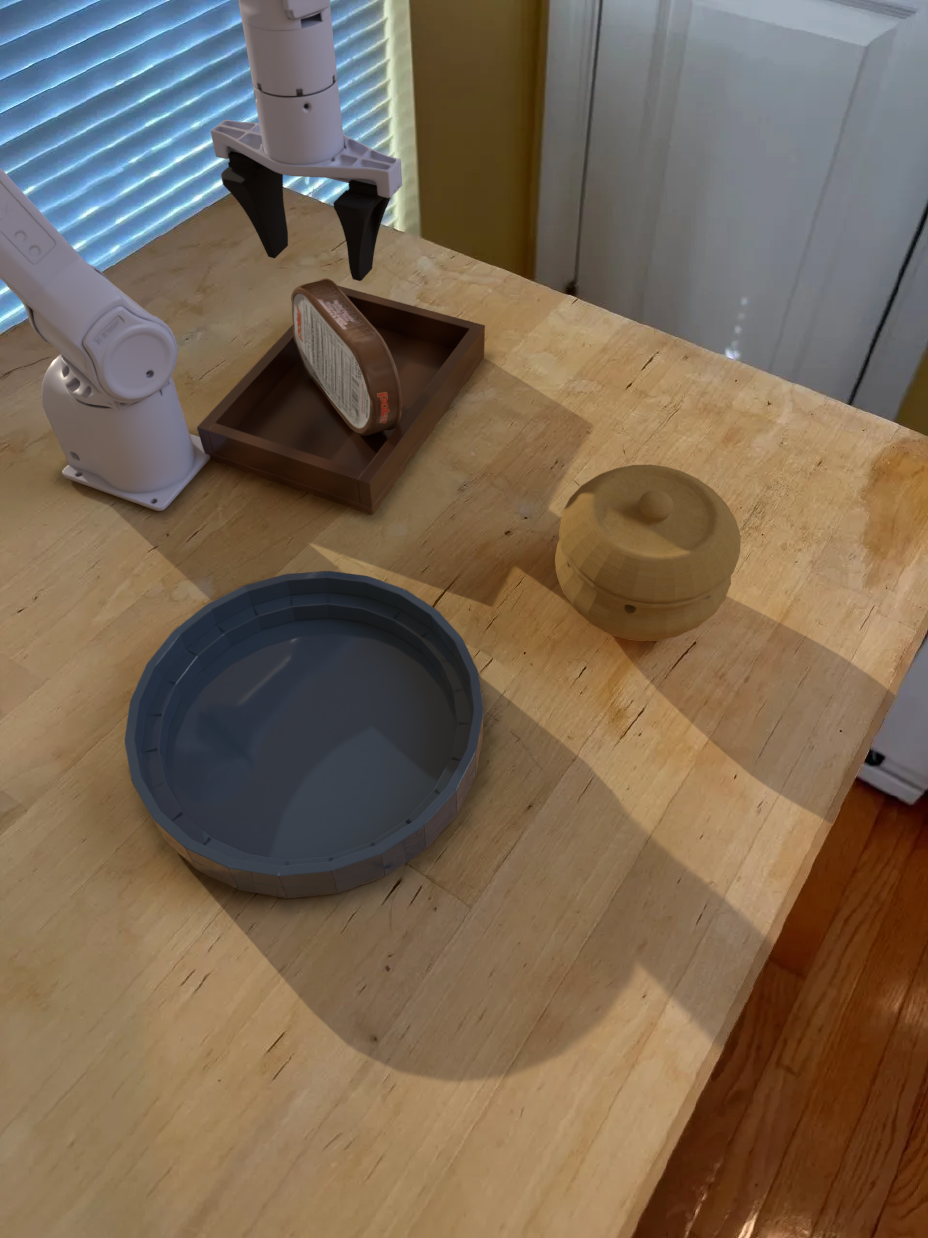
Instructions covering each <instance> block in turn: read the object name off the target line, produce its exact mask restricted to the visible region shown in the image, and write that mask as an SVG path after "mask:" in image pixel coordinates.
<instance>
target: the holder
mask: <svg viewBox="0 0 928 1238" xmlns="http://www.w3.org/2000/svg"><path fill="white" fill-rule="evenodd" d="M336 285H337V286H338V287H339V288H340V289H341V290H342V292H343V293H344V294H345V295H346V296H347V297H348V298H349V300H350V301H351V302H352V303H353V304H354V305H355V307H356V308H357V309H358V310H359V311H360V312H361V313H362V314H363V315H364V317H365V318H366V319H367V320H368V321H369V322H370V323H371V325H372V326H373V327H374V328H375V329H376V330H377V331H378V332H379V334H380V335H381V336H382V338H383V339H384V341H385V343H386V345H387V347H388V349H389V351H390V353H391V355H392V358H393V360H394V363H395V366H396V369H397V373H398V376H399V381H400V387H401V393H402V413H401V418H400V421H399V423H398V425H397V426H396V428H394V429H393V430H385V431H382V432H378V433H375V434H371V435H367V436H362V435H359V434H357V433H355V432H354V431H353V430H352V429H351V428H350V427H349V426H348V425H347V423H346V422H345V421H344V420H343V418H342V417H341V416H340V415H339V413H338V412H337V411H336V409H335V408H334V407H333V406H332V404H331V403H330V402H329V400H328V399H327V398H326V397H325V395H324V394H323V393H322V391H321V390H320V389H319V387H318V386H317V385H316V384H315V382H314V381H313V380H312V378H311V377H310V376H309V374H308V372H307V371H306V369H305V367H304V365H303V363H302V361H301V358H300V356H299V353H298V350H297V347H296V344H295V340H294V336H293V324H292V325H291V326H290V327H289V328H288V329H287V330H286V331H285V332H284V333H283V334H282V335H281V336H280V338H279V339H277V341H276V342H275V343H274V344H272V346H271V347H270V348H269V349H268V350H267V352H266V353H265V354H263V356H262V357H260V359H259V360H258V361H257V362H256V363H255V364H254V365H253V366H252V367H251V368H250V369H249V371H248V372H247V373H246V374H245V375H244V376H243V377H242V378H241V379H240V380H239V381H238V382H237V384H236V385H234V387H233V388H231V390H230V391H229V392H228V393H227V394H226V395H225V396H224V397H223V399H221V400H220V401H219V403H218V404H216V406H215V407H214V408H213V409H212V410H211V411H210V412H209V413H208V415H206V417H204V418H203V420H201V422H200V423H199V424H198V425H197V426H196V430H197V432H198V437H200V440H201V443H202V446H203V450H204V453H205V454H208V455H210V460H209V461H212V462H215V463H218V464H221V465H224V466H227V467H229V468H233V469H235V470H239V471H242V472H245V473H248V474H251V475H254V476H257V477H259V478H262V479H266V480H269V481H272V482H275V483H277V484H280V485H283V486H286V487H289V488H292V489H296V490H298V491H301V492H304V493H306V494H310V495H313V496H316V497H318V498H322V499H324V500H327V501H330V502H333V503H337V504H340V505H343V506H345V507H349V508H351V509H353V510H354V509H355V510H358V511H359V512H362V513H363V512H364V513H366V514H369V515H374V514H375V512H376V511H377V510H378V508H379V507H380V506H381V504H382V502H383V501H384V500H385V498H386V497H387V495H388V494H389V493H390V491H391V490H392V488H393V487H394V486H395V484H396V483H397V481H398V480H399V479H400V478H401V476H402V474H403V473H404V472H405V470H406V469H407V467H408V466H409V465H410V463H411V461H412V460H413V459H414V457H415V456H416V455H417V453H418V451H419V450H420V449H421V447H423V445H424V443H425V442H426V440H427V439H428V438H429V436H430V435H431V433H432V432H433V430H434V429H435V427H436V426H437V425H438V423H439V422H440V420H441V419H442V418H443V417H444V415H445V413H446V412H447V411H448V409H449V408H450V407H451V405H452V404H453V402H454V401H455V399H456V398H457V396H458V395H459V394H460V393H461V391H462V389H463V388H464V386H466V384H467V382H468V381H469V380H470V378H471V376H472V375H473V374H474V372H475V371H476V369H477V368H478V367H479V365H480V364H481V363H482V361H483V360H484V358H485V345H486V344H485V340H486V339H485V335H486V325H485V324H481V323H478V322H474V321H471V320H466V319H463V318H460V317H455V316H452V315H449V314H444V313H441V312H437V311H434V310H430V309H426V308H422V307H418V306H415V305H412V304H407V303H404V302H401V301H396V300H392V299H390V298H389V299H388V298H385V297H382V296H378V295H374V294H371V293H367V292H363V291H360V290H357V289H352V288H348V287H345V286H341V285H339V284H336Z"/></svg>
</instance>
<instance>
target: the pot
mask: <svg viewBox="0 0 928 1238" xmlns="http://www.w3.org/2000/svg"><path fill="white" fill-rule="evenodd" d="M741 536H742V535H741V532H740V529H739V525H738V521H737V519H736V518H735V515H734V514H733V512H732V511H731V509H730V507H729V506H728V504H727V503H726V502H725V500H724V499H723V498H722V497H721V496H720V495H719V493H718V492H716V491H715V489H713V488H712V487H710V486H709V485H707V484H706V483H705V482H703V481H702V480H701V479H699V478H698V477H695V476H693V475H691V474H689V473H687V472H685V471H681V470H678V469H676V468H672V467H669V466H664V465H656V464H655V465H654V464H631V465H626V466H621V467H616V468H612V469H610V470H608V471H605V472H602V473H600V474H598V475H596V476H594V477H593V478H592V479H590V480H588V481H587V482H585V483H583V484H582V485H580V486H579V488H578V489H577V490H576V491H575V492H574V493H573V494H572V495H571V496H570V497H569V499H568V501H567V503H566V505H565V507H564V509H563V511H562V515H561V519H560V525H559V529H558V537H559V540H558V541H557V544H556V551H555V556H554V565H555V574H556V578H557V580H558V583H559V585H560V587H561V590H562V592H563V594H564V596H565V597H566V598H567V600H568V602H570V604H571V605H572V606H573V608H574V609H575V611H576V612H577V613H578V614H579V615H580V616H581V617H583V618H584V620H586V621H588V622H589V624H591V625H592V626H594V627H595V628H598V629H599V630H601V631H603V632H604V633H606V634H608V635H611V636H614V637H617V638H621V639H623V640H629V641H636V642H657V641H658V642H659V641H664V640H668V639H669V640H670V639H673V638H676V637H679V636H681V635H683V634H686V633H688V632H690V631H692V630H694V629H697V628H698V627H700V626H702V624H703V623H705V622H707V620H709V619H710V618H711V617H713V615H715V614H716V612H718V609H719V608H720V607H721V605H722V604H723V603H724V601H725V600H726V598H727V596H728V592H729V589H730V587H731V584H732V575H733V574H734V572H735V570H736V567H737V564H738V561H739V559H740V554H741V545H742V544H741V542H742V541H741V540H742V539H741V538H742V537H741Z"/></svg>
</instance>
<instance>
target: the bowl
mask: <svg viewBox="0 0 928 1238" xmlns="http://www.w3.org/2000/svg"><path fill="white" fill-rule="evenodd" d="M125 727H126V728H125V735H124V747H125V753H126V759H127V764H128V770H129V775H130V781H131V784H132V785H133V787H134V788H135V790H136V792H137V794H138V796H139V798H140V800H141V801H142V804H143V805H144V807H145V808H146V810H147V812H148V814H149V816H150V818H151V819H152V822H154V825H155V826H156V827H157V829H158V831H159V833H160V834H161V836H162V837H163V839H164V841H165V842H166V843H167V844H168V845H169V846H170V847H171V848H172V849H173V850H174V851H175V852H177V853H178V855H180V856H181V857H182V858H183V859H184V860H186V861H187V863H189V865H191V867H193V868H194V869H195V870H196V871H197V872H200V873H202V874H203V875H206V876H208V877H210V878H212V879H214V880H216V881H218V882H221V883H222V884H224V885H227V886H229V887H231V888H234V889H236V890H238V891H240V892H241V891H242V892H248V893H253V894H260V895H266V896H271V897H272V896H273V897H278V898H284V899H291V898H292V899H293V898H294V899H295V898H304V897H315V896H325V895H335V894H339V893H343V892H347V891H349V890H351V889H354V888H357V887H359V886H362V885H365V884H368V883H371V882H374V881H377V880H380V879H383V878H385V877H387V876H388V875H390V874H392V873H393V872H395V871H396V870H398V869H399V868H401V867H402V866H403V865H405V864H407V863H408V862H410V861H411V860H413V859H415V857H418V856H419V855H420V854H422V853H423V852H424V851H426V850H427V849H428V848H429V847H430V846H431V845H432V844H433V843H434V841H436V839H437V838H438V837H439V836H440V835H441V833H443V832H444V830H445V829H446V828H447V827H448V826H449V825H450V823H451V822H453V820H454V819H455V818H456V817H457V815H458V814H459V812H460V810H461V808H462V805H463V804H464V801H465V799H466V797H467V795H468V793H469V791H470V789H471V788H472V786H473V783H474V782H475V779H476V777H477V772H478V768H479V767H478V766H479V762H480V756H481V750H482V744H483V739H484V704H483V696H482V689H481V679H480V674H479V671H478V669H477V666H476V664H475V662H474V660H473V658H472V655H471V652H470V651H469V649H468V646H467V645H466V642H465V639H464V638H463V637H462V636H461V635H460V634H459V632H458V631H457V630H456V629H455V628H454V627H453V625H451V624H450V622H449V621H448V620H447V619H446V618H445V617H444V615H442V613H441V612H440V611H439V610H438V609H436V608H435V607H434V606H432V605H431V604H429V603H428V602H426V601H425V600H422V599H421V598H420V597H418V596H416V595H415V594H414V593H412V592H411V591H409V590H408V589H405V588H403V587H400V586H397V585H394V584H392V583H388V582H387V581H386V582H385V581H383V580H381V579H378V578H375V577H372V576H368V575H363V574H355V573H348V572H339V571H332V570H320V571H308V572H307V571H305V572H294V573H293V572H292V573H286V574H280V575H278V576H273V577H270V578H266V579H262V580H259V581H255V582H252V583H251V582H250V583H249V584H245V585H242V586H241V587H237V588H236V589H234V590H232V591H230V592H228V593H225V594H224V595H222V596H221V597H217V599H214V600H212V601H210V602H208V603H207V604H206V605H204V606H202V607H201V608H200V609H199V610H198V611H197V612H195V613H194V614H192V615H191V616H190V617H189V618H188V619H186V620H185V621H183V623H181V624H180V625H179V626H177V627H176V628H175V629H174V630H172V632H171V633H170V634H169V635H168V636H167V638H166V639H165V640H164V642H162V644H161V645H160V646H159V648H158V649H157V650H156V652H155V653H154V654H153V655H152V657H151V658H150V659H149V661H147V663H146V665H145V667H144V669H143V671H142V674H141V676H140V678H139V680H138V682H137V684H136V687H135V688H134V691H133V694H132V695H131V698H130V700H129V707H128V714H127V721H126V726H125Z"/></svg>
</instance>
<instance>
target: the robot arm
mask: <svg viewBox="0 0 928 1238" xmlns="http://www.w3.org/2000/svg"><path fill="white" fill-rule="evenodd" d="M238 7H239V14H240V17H241V23H242V30H243V36H244V42H245V48H246V54H247V59H248V65H249V71H250V76H251V83H252V90H253V96H254V101H255V107H256V113H257V119H258V122H249V121H248V122H247V121H237V120H232V119H231V120H230V119H224V120H223V121H221V122H220V123H218V124H216V126H214V127H213V128H212V129H210V137H211V140H212V145H213V149H214V154H215V157H216V158H219V159H223V160H229V162H227V165H228V167H226V168H225V169H224V170H222V172H221V174H220V177H221V182H222V185H223V186H224V188H226V190H227V191H228V192H229V193H230V194H231V195H232V196H233V197H234V199H235V200H236V201H237V202H238V203H239V205H240V206H241V208H242V209H243V211H244V212H245V214H246V215H247V217H248V218H249V220H250V222H251V224H252V226H253V228H254V230H255V232H256V233H257V236H258V237H259V240H260V242H261V245H262V246H263V248H264V251H265V253H266V255H267V257H268V258H271V259H276V258H277V257H278V256H279V255H280V254H281V253H283V251H284V250H285V249H286V248H287V247H288V246H289V232H288V231H289V230H288V223H287V218H286V217H287V216H286V210H285V203H284V176H287V177H302V178H323V179H324V178H325V179H329V180H333V181H337V182H341V183H346V184H348V189H345V190H344V192H343V193H341V195H339V196H338V197H337V198H336V200H334V202H333V203H332V204H333V209H334V212H335V213H336V215H337V217H338V219H339V222H340V225H341V228H342V231H343V234H344V235H343V236H344V239H345V242H346V249H347V258H348V267H349V271H350V272H349V273H350V276H351V278H352V280H353V281H358V282H361V281H363V279H365V278H366V277H367V275H369V273H370V272H371V271H372V270H373V263H374V255H375V249H376V244H377V240H378V235H379V232H380V231H379V230H380V228H381V223H382V221H383V217H384V216H385V213H386V210H387V208H388V205H389V203H390V201H391V198H392V197H393V196H394V195H395V194H396V193H397V192H398V191H399V190H400V189H401V188H402V186H403V174H402V159H401V158H398V157H395V156H394V157H393V156H390V155H388V154H384V153H382V152H380V151H378V150H376V149H374V148H372V147H370V146H368V145H366V144H364V143H362V142H360V141H358V140H357V139H354V138H352V137H350V136H348V135H346V134H344V129H343V121H342V120H343V119H342V109H341V101H340V92H339V91H340V89H339V82H338V81H339V79H338V71H337V59H336V51H335V50H336V49H335V42H334V30H333V22H332V11H331V0H238ZM0 280H1V281H2V282H3V283H4V284H5V285H6V287H7V288H8V289H9V291H11V292H12V293H14V295H16V297H17V298H18V299H19V300H20V301H21V304H22V305H23V307H24V309H25V312H26V316H27V318H28V321H29V324H30V326H31V328H32V330H33V331H34V333H36V335H37V336H38V337H39V338H41V339H42V340H43V341H44V342H45V343H48V344H49V345H51V346H52V347H53V348H54V349H55V350H56V351H57V352H59V355H58V356H56V357H55V358H54V359H53V361H52V362H51V363H50V365H49V366H48V368H47V370H46V371H45V374H44V376H43V379H42V383H41V403H42V407H43V411H44V413H45V415H46V418H47V420H48V421H49V424H50V426H51V429H52V430H53V433H54V435H55V437H56V439H57V442H58V444H59V446H60V448H61V450H62V453H63V454H64V457H65V459H66V461H67V463H68V464H67V465H66V466H65V467H64V468H63V469H62V472H61V473H62V475H63V477H64V478H65V479H68V480H71V481H73V482H76V483H79V484H81V485H85V486H87V487H89V488H93V489H94V490H95V489H96V490H98V491H101V492H104V493H106V494H109V495H112V496H115V497H117V498H120V499H122V500H126V501H128V502H132V503H135V504H137V505H139V506H143V507H145V508H148V509H151V510H154V511H156V512H162V511H165V509H167V508H168V507H169V506H170V504H172V502H173V501H174V500H175V499H176V498H177V496H179V494H180V493H181V492H182V491H183V490H184V489H185V488H186V487H187V485H188V484H189V483H190V482H191V481H192V480H193V479H194V478H195V476H197V474H198V473H199V472H200V471H201V470H202V469H203V468H204V466H205V465H206V464H207V463H208V462H209V461H211V460H210V455H208V454H205V453H204V450H203V446H202V443H201V440H200V436H199V435H195V434H192V433H190V430H189V427H188V423H187V421H186V417H185V415H184V411H183V407H182V404H181V401H180V398H179V395H178V391H177V388H176V385H175V381H174V378H173V373H174V371H175V368H176V366H177V361H178V354H179V353H178V351H179V350H178V349H179V348H178V342H177V340H176V339H177V338H176V335H175V334H174V332H173V331H172V329H171V328H170V326H169V325H168V324H167V323H166V322H164V321H163V320H162V319H161V318H159V316H156V315H153V314H151V313H150V312H149V311H147V310H146V309H145V308H143V307H142V306H141V305H140V304H139V303H137V302H136V301H135V300H133V299H132V298H131V297H130V296H129V295H128V294H126V293H125V292H124V291H123V290H122V289H120V288H119V287H117V286H116V285H115V284H114V283H113V282H112V281H110V279H109V278H108V276H106V275H105V274H104V273H103V272H102V271H101V270H100V269H99V268H97V267H96V266H95V265H93V264H91V263H88V261H86V260H85V259H84V258H83V257H82V255H81V254H79V252H78V251H77V250H76V249H75V248H74V247H73V246H72V245H71V243H69V241H68V240H66V238H65V237H64V236H63V235H62V234H61V232H59V230H58V229H57V228H56V227H55V226H54V224H52V222H51V221H49V219H48V218H47V217H46V216H45V215H44V214H43V212H41V211H40V210H39V208H38V207H37V206H36V205H35V204H34V203H33V201H31V200H30V198H29V197H28V196H27V195H26V194H25V193H24V191H22V189H21V188H20V187H19V186H18V185H17V184H16V183H15V181H13V180H12V179H11V177H10V176H9V175H8V174H7V173H6V171H4V169H3V168H2V167H0Z"/></svg>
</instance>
